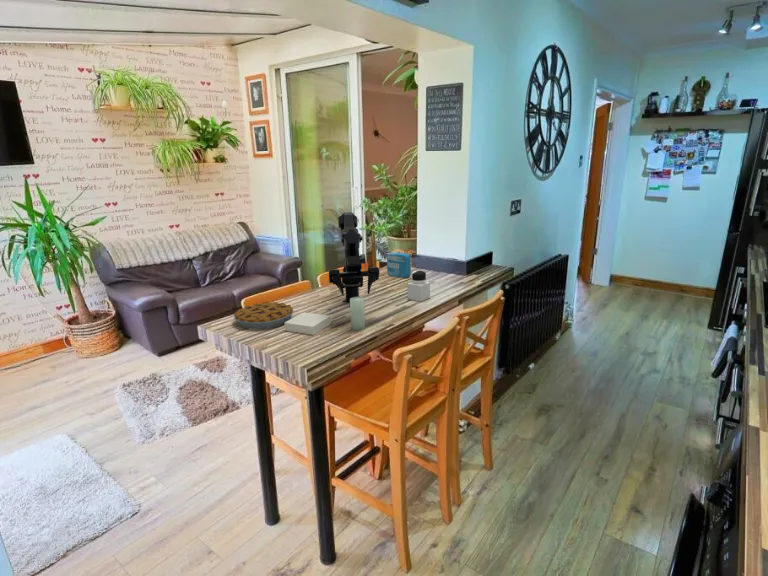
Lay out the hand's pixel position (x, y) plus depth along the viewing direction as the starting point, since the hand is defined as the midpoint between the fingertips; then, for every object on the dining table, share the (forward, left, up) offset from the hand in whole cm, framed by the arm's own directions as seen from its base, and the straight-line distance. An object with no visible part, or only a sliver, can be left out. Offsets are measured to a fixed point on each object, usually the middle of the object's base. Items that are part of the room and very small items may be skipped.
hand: (355, 294), depth 162 cm
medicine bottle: (-36, +14, -11) cm, 40 cm away
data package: (-71, -6, -11) cm, 72 cm away
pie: (+6, -36, -12) cm, 38 cm away
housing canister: (+4, +2, -11) cm, 12 cm away
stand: (+8, -16, -11) cm, 21 cm away
